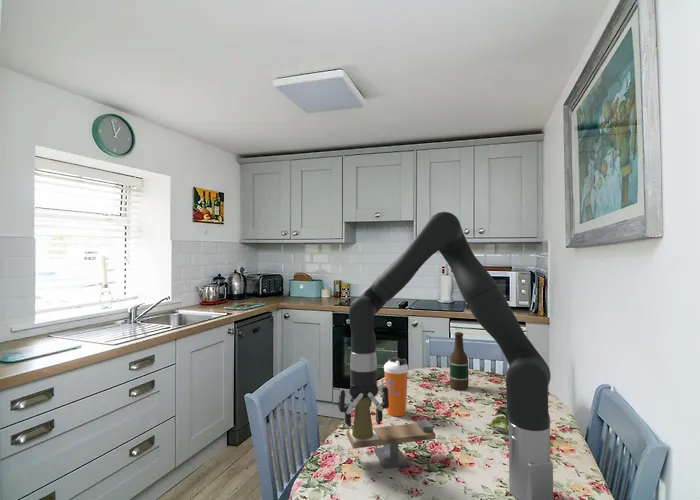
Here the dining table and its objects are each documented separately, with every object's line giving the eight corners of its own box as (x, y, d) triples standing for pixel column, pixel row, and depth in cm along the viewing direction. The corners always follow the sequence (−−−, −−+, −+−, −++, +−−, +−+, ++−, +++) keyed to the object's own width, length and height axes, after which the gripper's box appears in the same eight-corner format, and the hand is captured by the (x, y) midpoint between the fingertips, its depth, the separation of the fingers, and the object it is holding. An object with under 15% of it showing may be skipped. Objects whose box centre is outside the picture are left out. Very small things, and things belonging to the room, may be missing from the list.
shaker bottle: (392, 406, 155) (392, 354, 155) (413, 412, 149) (412, 358, 150) (379, 413, 148) (379, 359, 148) (400, 419, 143) (399, 363, 143)
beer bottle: (449, 389, 174) (449, 333, 174) (450, 384, 181) (450, 330, 181) (468, 391, 171) (468, 334, 172) (468, 385, 179) (468, 331, 179)
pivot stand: (408, 465, 112) (408, 445, 112) (384, 468, 110) (384, 448, 110) (396, 448, 122) (396, 430, 122) (374, 451, 120) (374, 432, 120)
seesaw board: (424, 427, 122) (424, 417, 123) (435, 439, 115) (435, 428, 115) (347, 435, 117) (346, 425, 117) (353, 448, 109) (353, 437, 109)
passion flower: (516, 444, 136) (539, 417, 134) (512, 452, 126) (536, 423, 125) (488, 418, 141) (509, 392, 139) (482, 424, 132) (505, 396, 130)
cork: (371, 440, 111) (371, 399, 111) (350, 438, 112) (349, 398, 112) (374, 430, 117) (374, 392, 117) (354, 428, 118) (354, 391, 118)
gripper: (341, 372, 109) (341, 432, 109) (391, 369, 112) (392, 427, 112) (336, 365, 116) (336, 421, 116) (383, 361, 120) (383, 416, 119)
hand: (363, 424), depth 114 cm, fingers open, 8 cm apart
